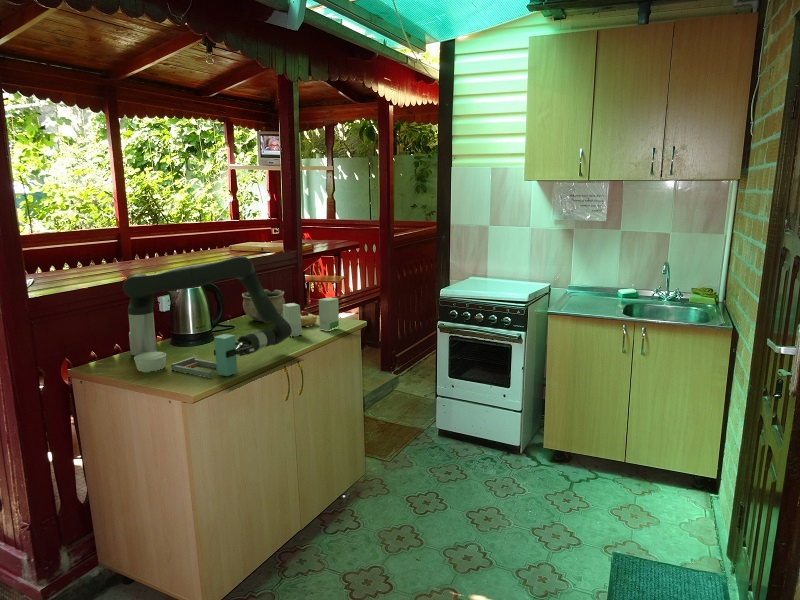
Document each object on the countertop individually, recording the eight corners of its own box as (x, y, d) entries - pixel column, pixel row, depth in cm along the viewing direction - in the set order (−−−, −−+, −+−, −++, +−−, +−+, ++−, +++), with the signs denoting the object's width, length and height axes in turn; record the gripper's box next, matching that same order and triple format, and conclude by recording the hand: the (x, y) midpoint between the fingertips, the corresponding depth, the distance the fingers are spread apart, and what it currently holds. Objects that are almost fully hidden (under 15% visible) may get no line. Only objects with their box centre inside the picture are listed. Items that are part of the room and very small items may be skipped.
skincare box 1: (302, 335, 249) (301, 305, 246) (290, 337, 246) (289, 306, 243) (295, 332, 256) (294, 302, 253) (283, 333, 253) (282, 303, 250)
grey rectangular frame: (171, 370, 198) (171, 364, 198) (193, 363, 208) (192, 356, 207) (209, 378, 190) (209, 371, 190) (230, 369, 199) (229, 363, 199)
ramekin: (165, 372, 197) (164, 358, 196) (132, 374, 194) (131, 361, 193) (169, 363, 208) (168, 350, 207) (138, 365, 204) (136, 352, 203)
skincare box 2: (328, 332, 256) (328, 300, 253) (318, 330, 259) (317, 299, 256) (339, 328, 263) (339, 298, 260) (329, 327, 266) (328, 296, 263)
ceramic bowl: (294, 318, 286) (293, 290, 283) (268, 326, 266) (267, 297, 264) (261, 314, 295) (260, 288, 292) (234, 322, 275) (232, 294, 272)
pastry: (288, 327, 266) (288, 310, 264) (299, 322, 277) (299, 305, 275) (310, 329, 262) (309, 311, 261) (320, 323, 274) (320, 307, 272)
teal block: (217, 374, 192) (214, 337, 189) (226, 370, 197) (224, 333, 194) (227, 376, 190) (224, 338, 187) (237, 372, 194) (234, 335, 192)
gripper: (237, 331, 207) (204, 341, 192) (266, 335, 201) (235, 346, 186) (239, 349, 208) (206, 361, 193) (267, 354, 202) (236, 366, 187)
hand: (220, 353), depth 189 cm, fingers closed on teal block, 5 cm apart
